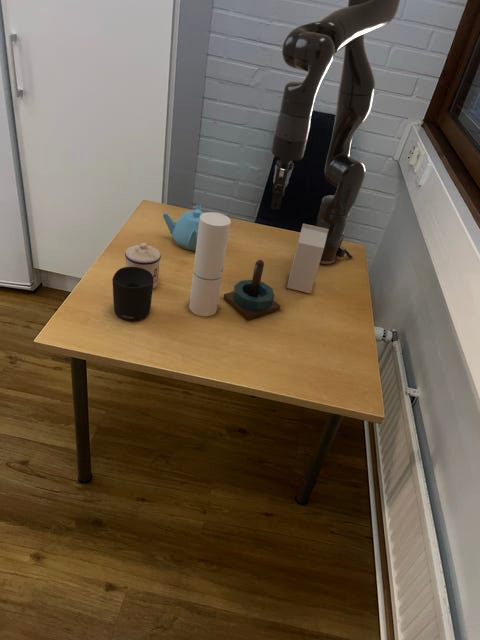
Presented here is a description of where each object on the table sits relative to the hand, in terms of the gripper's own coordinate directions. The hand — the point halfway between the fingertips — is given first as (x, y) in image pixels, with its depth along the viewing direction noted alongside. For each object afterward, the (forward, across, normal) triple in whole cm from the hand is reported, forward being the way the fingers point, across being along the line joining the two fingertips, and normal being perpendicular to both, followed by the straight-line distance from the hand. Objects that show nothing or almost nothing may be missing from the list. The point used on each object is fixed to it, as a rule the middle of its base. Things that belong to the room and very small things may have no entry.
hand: (277, 202), depth 114 cm
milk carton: (+28, -10, +11) cm, 32 cm away
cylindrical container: (+27, +13, -13) cm, 33 cm away
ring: (+26, +5, -1) cm, 26 cm away
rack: (+27, +6, -1) cm, 28 cm away
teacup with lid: (+27, +6, -31) cm, 42 cm away
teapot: (+27, -22, -25) cm, 43 cm away
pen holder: (+27, +21, -29) cm, 45 cm away
